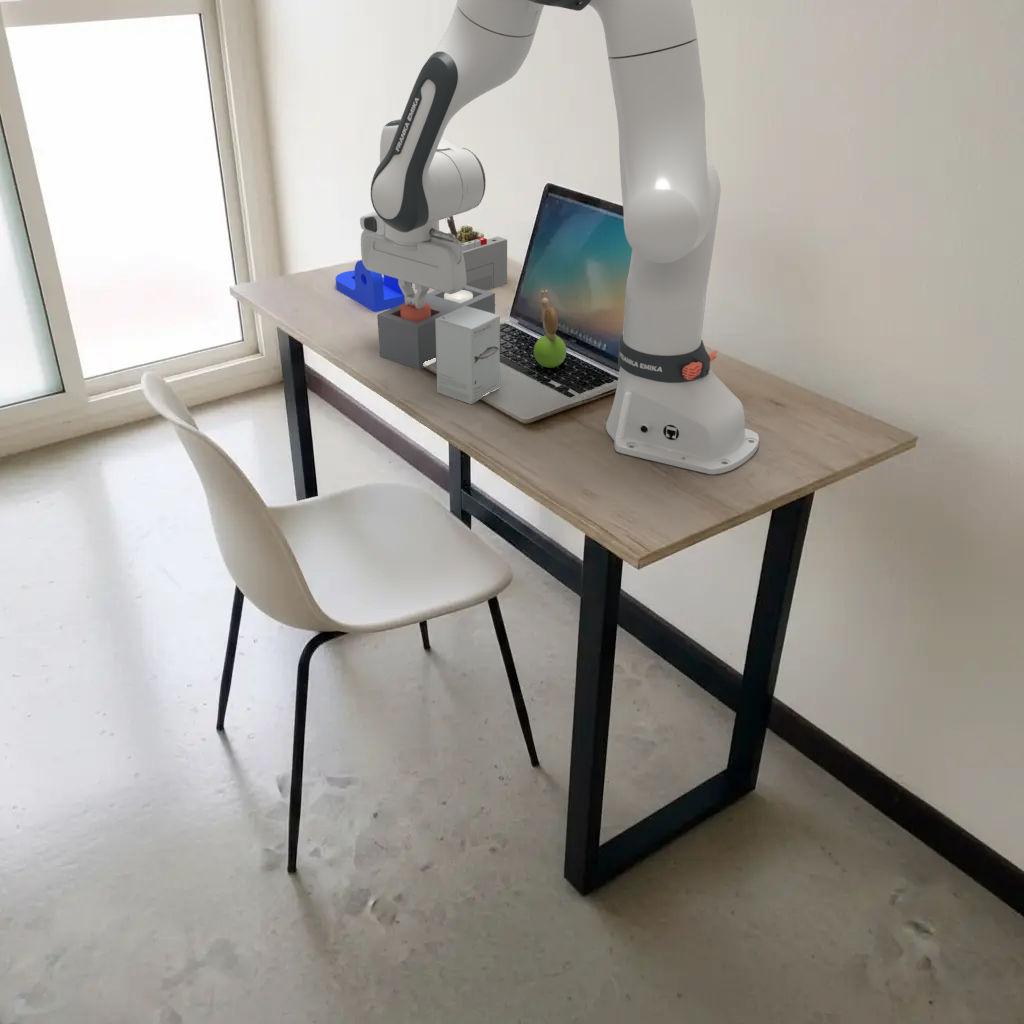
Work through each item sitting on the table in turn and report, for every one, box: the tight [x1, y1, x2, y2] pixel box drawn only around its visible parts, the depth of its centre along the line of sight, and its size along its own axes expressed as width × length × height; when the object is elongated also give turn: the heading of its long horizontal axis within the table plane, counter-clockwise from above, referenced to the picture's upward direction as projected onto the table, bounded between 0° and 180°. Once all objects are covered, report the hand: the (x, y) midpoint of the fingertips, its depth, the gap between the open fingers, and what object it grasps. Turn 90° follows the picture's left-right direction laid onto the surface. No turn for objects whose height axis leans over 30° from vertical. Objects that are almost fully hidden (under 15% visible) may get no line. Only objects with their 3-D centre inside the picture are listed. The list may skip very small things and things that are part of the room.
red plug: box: [400, 302, 431, 322], centre depth 176 cm, size 5×5×6 cm
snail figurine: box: [533, 289, 567, 369], centre depth 173 cm, size 5×6×12 cm
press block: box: [376, 285, 496, 371], centre depth 181 cm, size 9×20×8 cm, turn 142°
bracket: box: [335, 259, 413, 313], centre depth 202 cm, size 18×8×9 cm, turn 37°
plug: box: [444, 290, 473, 303], centre depth 184 cm, size 5×5×6 cm
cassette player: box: [461, 235, 508, 291], centre depth 203 cm, size 16×3×10 cm, turn 135°
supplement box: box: [435, 306, 501, 405], centre depth 164 cm, size 7×7×13 cm
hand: (415, 306), depth 175 cm, fingers closed, pressing on red plug
